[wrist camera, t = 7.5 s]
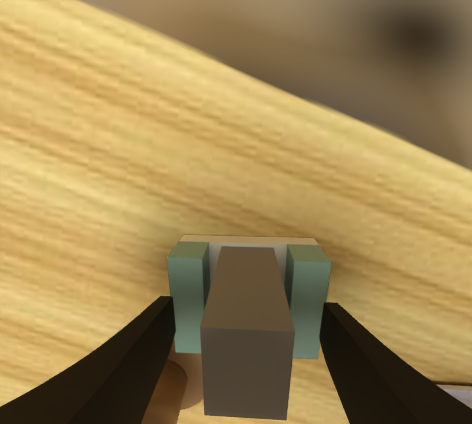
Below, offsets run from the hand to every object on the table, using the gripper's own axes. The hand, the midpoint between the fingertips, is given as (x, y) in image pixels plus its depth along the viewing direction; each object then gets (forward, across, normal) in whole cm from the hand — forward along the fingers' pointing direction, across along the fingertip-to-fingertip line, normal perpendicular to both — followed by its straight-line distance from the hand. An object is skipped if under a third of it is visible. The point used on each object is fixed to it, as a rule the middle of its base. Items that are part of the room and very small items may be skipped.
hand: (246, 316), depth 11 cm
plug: (+3, 0, 0) cm, 3 cm away
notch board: (+4, 0, 0) cm, 4 cm away
